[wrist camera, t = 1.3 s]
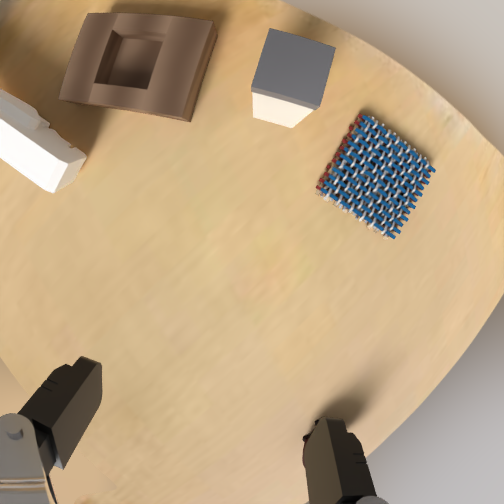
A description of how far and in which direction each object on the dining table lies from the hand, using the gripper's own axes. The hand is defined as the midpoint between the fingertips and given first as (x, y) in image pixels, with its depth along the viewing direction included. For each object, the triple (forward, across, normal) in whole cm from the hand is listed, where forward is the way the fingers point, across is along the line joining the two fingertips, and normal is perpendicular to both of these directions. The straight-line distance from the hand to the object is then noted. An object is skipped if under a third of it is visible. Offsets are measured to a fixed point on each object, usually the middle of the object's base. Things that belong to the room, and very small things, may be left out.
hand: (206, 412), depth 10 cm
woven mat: (+25, -12, -10) cm, 30 cm away
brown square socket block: (+24, +15, -16) cm, 33 cm away
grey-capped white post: (+24, 0, -15) cm, 28 cm away
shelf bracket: (+24, +30, -9) cm, 40 cm away
